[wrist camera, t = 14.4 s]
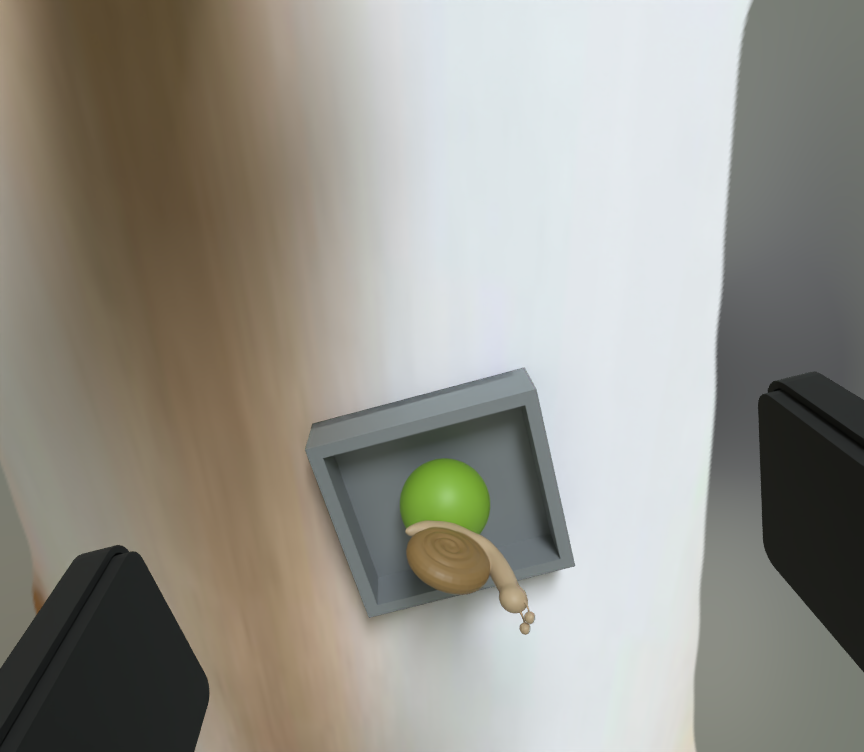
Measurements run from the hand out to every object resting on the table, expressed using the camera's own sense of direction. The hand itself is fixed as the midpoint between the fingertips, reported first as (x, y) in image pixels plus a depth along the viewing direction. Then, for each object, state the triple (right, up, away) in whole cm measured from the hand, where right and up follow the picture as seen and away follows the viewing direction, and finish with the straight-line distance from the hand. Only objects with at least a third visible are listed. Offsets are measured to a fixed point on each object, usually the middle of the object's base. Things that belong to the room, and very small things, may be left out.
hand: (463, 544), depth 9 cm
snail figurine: (+1, -4, +31) cm, 32 cm away
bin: (0, -4, +32) cm, 32 cm away
